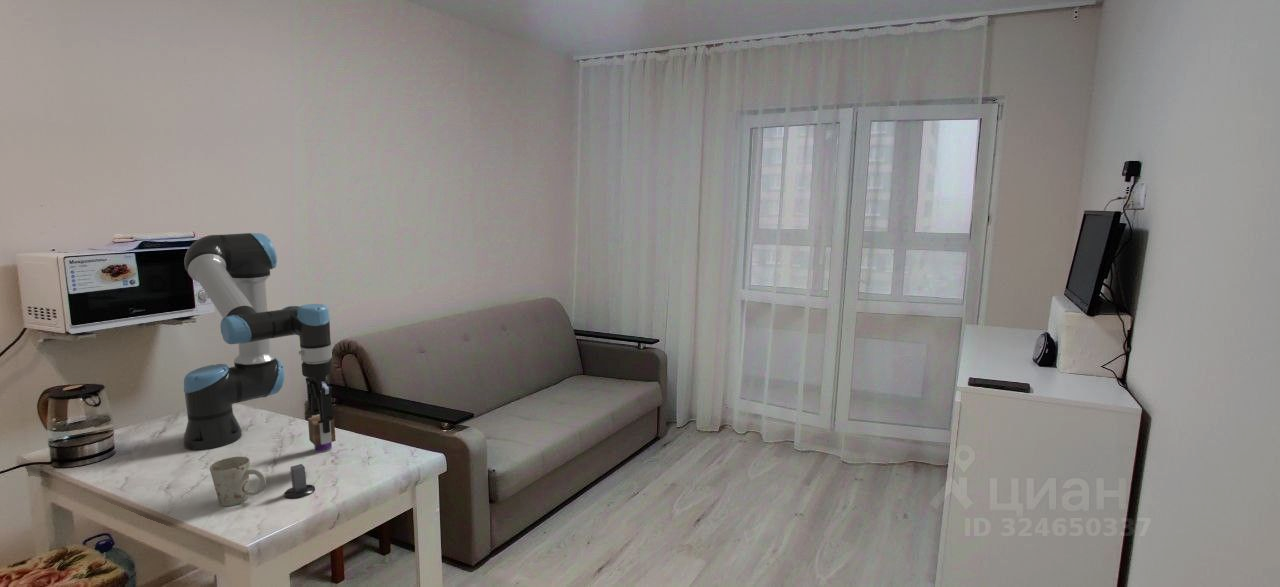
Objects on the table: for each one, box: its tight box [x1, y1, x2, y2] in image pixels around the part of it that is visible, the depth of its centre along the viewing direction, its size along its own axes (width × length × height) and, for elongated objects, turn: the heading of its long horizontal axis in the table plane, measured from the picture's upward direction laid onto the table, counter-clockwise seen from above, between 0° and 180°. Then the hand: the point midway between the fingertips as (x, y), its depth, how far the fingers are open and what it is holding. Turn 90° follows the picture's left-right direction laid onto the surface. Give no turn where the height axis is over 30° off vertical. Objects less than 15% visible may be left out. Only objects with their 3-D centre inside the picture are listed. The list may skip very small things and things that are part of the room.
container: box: [311, 415, 333, 453], centre depth 187 cm, size 5×5×15 cm
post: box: [284, 463, 316, 499], centre depth 160 cm, size 7×7×7 cm
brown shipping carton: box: [307, 416, 336, 446], centre depth 174 cm, size 5×5×7 cm
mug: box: [209, 456, 267, 507], centre depth 156 cm, size 8×13×10 cm, turn 95°
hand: (322, 439), depth 175 cm, fingers closed on brown shipping carton, 5 cm apart
